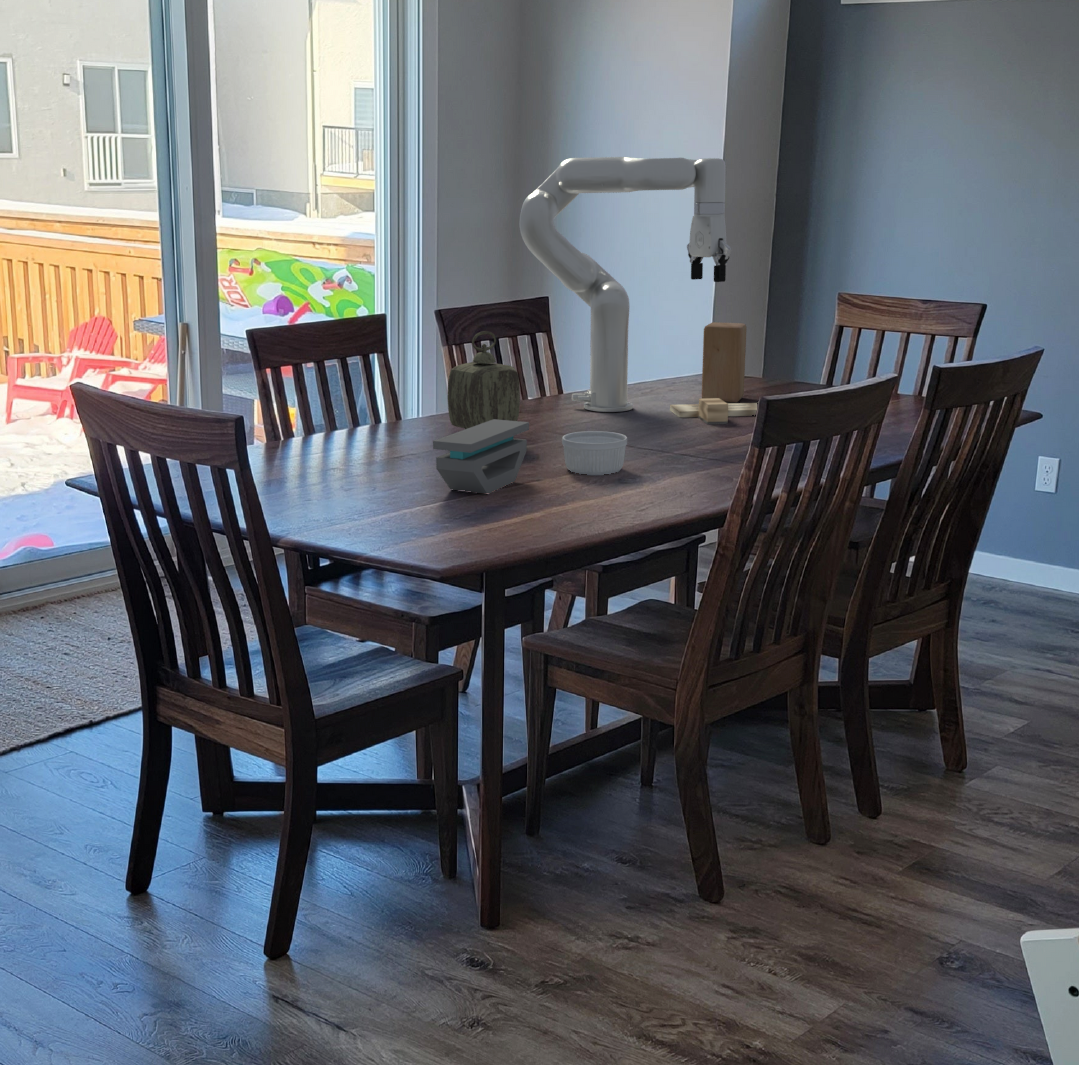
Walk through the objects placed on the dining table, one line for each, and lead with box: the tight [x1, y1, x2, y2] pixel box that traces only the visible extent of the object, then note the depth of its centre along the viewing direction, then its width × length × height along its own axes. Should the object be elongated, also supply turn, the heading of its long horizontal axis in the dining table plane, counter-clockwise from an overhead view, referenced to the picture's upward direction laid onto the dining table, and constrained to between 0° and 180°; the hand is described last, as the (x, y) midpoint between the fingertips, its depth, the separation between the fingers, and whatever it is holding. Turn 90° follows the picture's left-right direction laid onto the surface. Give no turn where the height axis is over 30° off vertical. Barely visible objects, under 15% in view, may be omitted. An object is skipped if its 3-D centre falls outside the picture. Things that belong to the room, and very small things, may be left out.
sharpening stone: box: [432, 419, 530, 494], centre depth 262 cm, size 25×8×11 cm, turn 155°
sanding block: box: [697, 397, 729, 425], centre depth 333 cm, size 9×5×5 cm, turn 7°
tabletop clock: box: [447, 330, 521, 430], centre depth 301 cm, size 14×9×25 cm, turn 134°
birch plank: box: [669, 402, 758, 418], centre depth 344 cm, size 24×10×2 cm, turn 98°
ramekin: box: [561, 430, 628, 476], centre depth 278 cm, size 13×13×7 cm
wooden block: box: [701, 321, 748, 403], centre depth 361 cm, size 10×10×20 cm
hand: (707, 280), depth 341 cm, fingers open, 9 cm apart
